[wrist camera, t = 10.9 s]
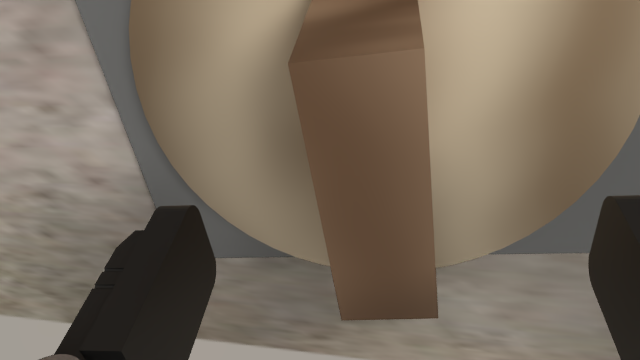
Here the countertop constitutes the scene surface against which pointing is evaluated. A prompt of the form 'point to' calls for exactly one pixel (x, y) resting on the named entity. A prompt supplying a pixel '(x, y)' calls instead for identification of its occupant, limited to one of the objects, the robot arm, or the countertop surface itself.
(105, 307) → the robot arm
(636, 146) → the mat
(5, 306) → the countertop surface
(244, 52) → the lid
